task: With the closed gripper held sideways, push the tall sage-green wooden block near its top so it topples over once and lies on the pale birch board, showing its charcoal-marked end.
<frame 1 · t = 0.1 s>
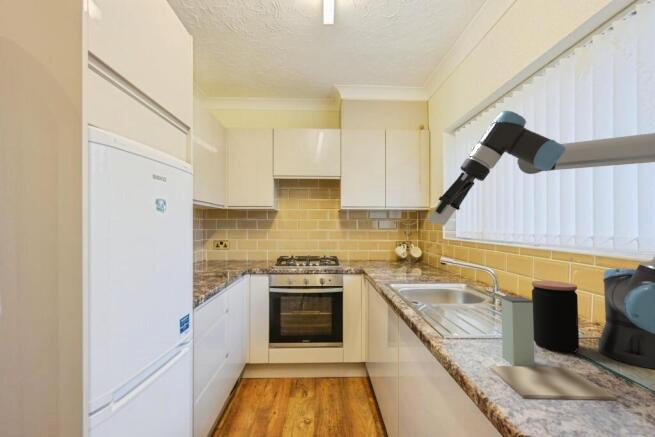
hand: (435, 223, 94), 36 cm above the worktop, tool tilted 35°, fingers open, 13 cm apart
birch board: (546, 382, 67), on the worktop
sage block: (518, 361, 77), on the worktop
coffee jar: (555, 347, 87), on the worktop
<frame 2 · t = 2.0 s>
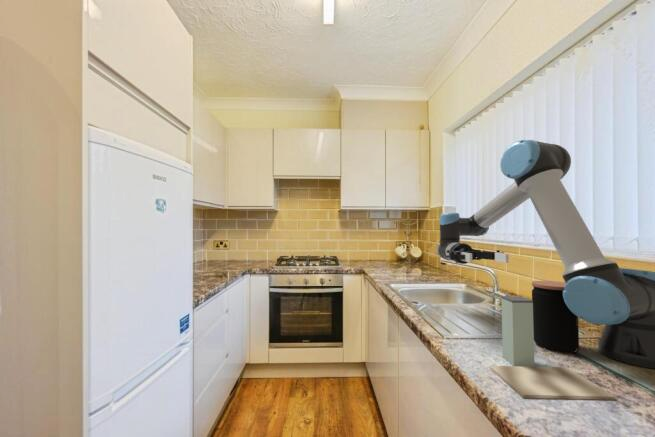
hand: (489, 258, 92), 25 cm above the worktop, tool horizontal, fingers open, 10 cm apart
nothing on the worktop moved.
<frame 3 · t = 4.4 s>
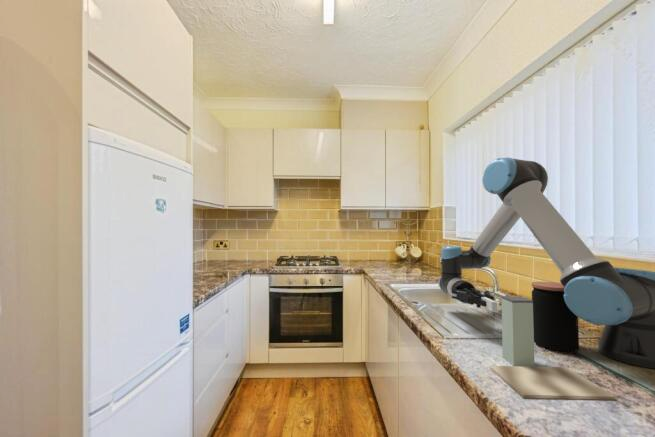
hand: (494, 306, 88), 11 cm above the worktop, tool horizontal, fingers closed
coffee jar: (555, 348, 87), on the worktop, touching arm
everything else where it was.
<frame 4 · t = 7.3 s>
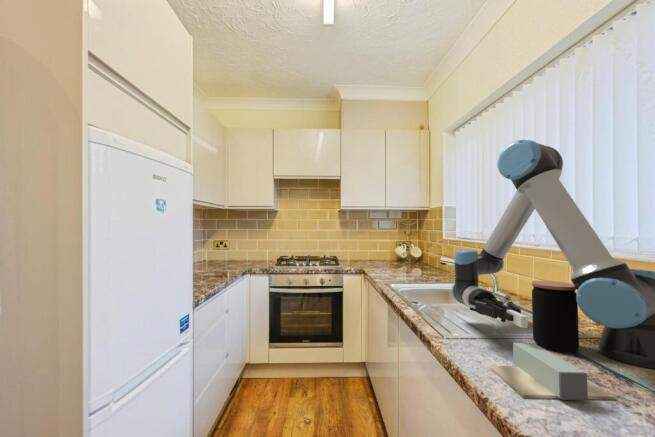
hand: (524, 322, 74), 11 cm above the worktop, tool horizontal, fingers closed
sage block: (523, 353, 75), point 3 cm above the worktop, tilted 90°, touching birch board
coffee jar: (555, 347, 87), on the worktop
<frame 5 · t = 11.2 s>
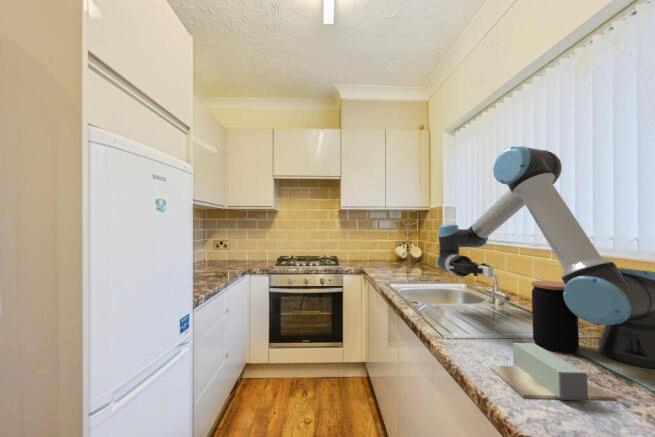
hand: (490, 272, 90), 21 cm above the worktop, tool horizontal, fingers closed
nothing on the worktop moved.
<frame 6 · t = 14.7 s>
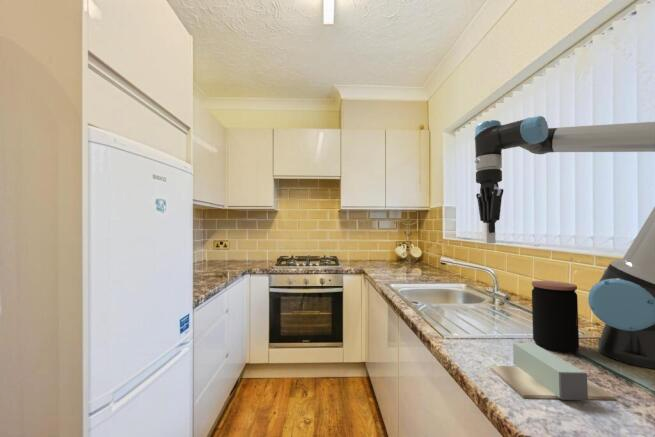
hand: (490, 243, 97), 29 cm above the worktop, tool pointing down, fingers closed
nothing on the worktop moved.
at the end: sage block tilted 90°; sage block touching birch board; sage block inside the target area (1.6 cm from its centre), point 3.1 cm above the worktop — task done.
